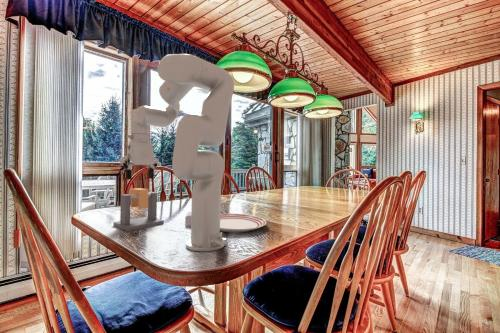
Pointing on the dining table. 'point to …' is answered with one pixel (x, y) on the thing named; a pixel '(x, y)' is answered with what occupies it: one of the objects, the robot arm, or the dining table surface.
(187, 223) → the charger
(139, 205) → the orange rectangular block
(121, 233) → the dining table surface
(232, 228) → the dinner plate
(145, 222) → the stand
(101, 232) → the dining table surface
